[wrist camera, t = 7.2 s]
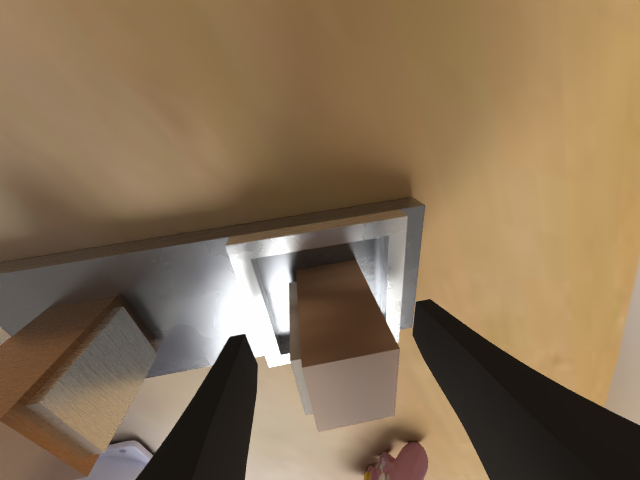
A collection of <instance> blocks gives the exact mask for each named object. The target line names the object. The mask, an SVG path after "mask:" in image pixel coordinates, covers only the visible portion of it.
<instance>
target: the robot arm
mask: <svg viewBox="0 0 640 480" xmlns="http://www.w3.org/2000/svg"><path fill="white" fill-rule="evenodd" d="M413 337H414V339H415V341H416V344H417V346H418V348H419V350H420V352H421V354H422V357H423V359H424V360H425V362H426V364H427V366H428V367H429V369H430V371H431V372H432V374H433V376H434V377H435V379H436V381H437V382H438V384H439V386H440V387H441V389H442V391H443V392H444V394H445V396H446V397H447V399H448V401H449V402H450V404H451V406H452V407H453V409H454V411H455V412H456V414H457V416H458V418H459V419H460V421H461V423H462V425H463V426H464V428H465V430H466V432H467V434H468V436H469V438H470V440H471V442H472V444H473V446H474V448H475V450H476V452H477V454H478V456H479V458H480V460H481V462H482V464H483V466H484V468H485V470H486V473H487V475H488V477H489V479H490V480H640V425H638V424H636V423H634V422H632V421H630V420H627V419H625V418H623V417H621V416H619V415H617V414H615V413H613V412H611V411H609V410H607V409H605V408H603V407H601V406H600V405H598V404H596V403H594V402H592V401H590V400H588V399H586V398H584V397H582V396H580V395H578V394H576V393H575V392H573V391H571V390H569V389H567V388H565V387H563V386H562V385H560V384H558V383H556V382H555V381H553V380H551V379H549V378H548V377H546V376H544V375H542V374H541V373H539V372H537V371H535V370H534V369H532V368H530V367H529V366H527V365H525V364H524V363H522V362H520V361H519V360H517V359H516V358H514V357H512V356H511V355H509V354H508V353H506V352H505V351H503V350H501V349H500V348H498V347H497V346H495V345H494V344H492V343H491V342H489V341H488V340H486V339H485V338H483V337H482V336H480V335H479V334H478V333H476V332H475V331H473V330H472V329H470V328H469V327H468V326H466V325H465V324H463V323H462V322H461V321H459V320H458V319H456V318H455V317H454V316H452V315H451V314H450V313H448V312H447V311H445V310H444V309H443V308H441V307H440V306H439V305H437V304H436V303H435V302H433V301H432V300H430V299H428V300H423V301H418V302H416V307H415V316H414V326H413ZM257 371H258V364H257V362H256V359H255V357H254V354H253V352H252V349H251V347H250V344H249V342H248V339H247V337H246V334H241V335H235V336H230V337H229V338H228V340H227V342H226V344H225V345H224V347H223V349H222V351H221V352H220V354H219V356H218V358H217V359H216V361H215V363H214V364H213V366H212V368H211V370H210V371H209V373H208V375H207V376H206V378H205V380H204V381H203V383H202V384H201V386H200V388H199V389H198V391H197V393H196V394H195V396H194V397H193V399H192V400H191V402H190V403H189V405H188V406H187V408H186V409H185V411H184V412H183V414H182V415H181V417H180V418H179V420H178V421H177V423H176V424H175V426H174V427H173V429H172V430H171V432H170V433H169V435H168V436H167V437H166V439H165V440H164V442H163V443H162V444H161V446H160V447H159V449H158V450H157V451H156V453H155V454H154V455H152V454H151V453H150V452H149V451H148V450H146V449H145V448H144V447H143V446H142V445H141V444H140V443H139V442H137V441H134V440H131V441H125V442H120V443H116V444H111V445H108V447H107V449H106V451H105V452H104V453H101V454H100V455H99V457H98V459H97V461H96V463H95V464H94V466H93V468H92V470H91V472H90V473H89V475H88V477H84V478H80V479H75V480H245V473H246V464H247V457H248V450H249V443H250V436H251V429H252V422H253V415H254V408H255V401H256V393H257Z"/></svg>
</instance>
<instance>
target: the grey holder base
mask: <svg viewBox="0 0 640 480" xmlns="http://www.w3.org/2000/svg"><path fill="white" fill-rule="evenodd" d="M424 211H425V205H424V204H422V203H421V202H419V201H417V200H416V199H414V198H413V197H411V198H405V199H399V200H392V201H386V202H380V203H374V204H367V205H361V206H355V207H348V208H342V209H336V210H330V211H323V212H317V213H311V214H304V215H298V216H292V217H285V218H279V219H273V220H267V221H260V222H254V223H248V224H241V225H235V226H229V227H223V228H216V229H210V230H204V231H197V232H191V233H185V234H178V235H172V236H166V237H160V238H153V239H147V240H141V241H134V242H128V243H122V244H115V245H109V246H103V247H97V248H90V249H84V250H78V251H71V252H65V253H59V254H53V255H46V256H40V257H34V258H27V259H21V260H15V261H8V262H2V263H0V326H1V327H2V328H3V329H4V330H5V331H6V332H7V333H8V334H9V335H11V336H12V337H11V338H10V339H8V340H7V341H6V342H5V343H3V344H2V345H1V346H0V480H75V479H80V478H84V477H88V475H89V473H90V472H91V470H92V468H93V466H94V464H95V463H96V461H97V459H98V457H99V455H100V454H101V453H104V452H105V451H106V449H107V447H108V445H109V443H110V441H111V440H112V438H113V436H114V434H115V432H116V430H117V428H118V427H119V425H120V423H121V421H122V419H123V417H124V416H125V414H126V412H127V410H128V408H129V406H130V405H131V403H132V401H133V399H134V397H135V395H136V394H137V392H138V390H139V388H140V386H141V384H142V382H143V381H144V379H145V378H150V377H155V376H161V375H166V374H171V373H176V372H181V371H187V370H192V369H197V368H202V367H207V366H213V364H214V363H215V361H216V359H217V358H218V356H219V354H220V352H221V351H222V349H223V347H224V345H225V344H226V342H227V340H228V338H229V337H230V336H235V335H241V334H246V337H247V339H248V342H249V344H250V347H251V349H252V352H253V354H254V357H260V356H265V357H266V359H267V362H268V365H269V367H273V366H278V365H283V364H288V363H290V329H289V283H291V282H297V281H296V270H300V269H305V268H311V267H317V266H323V265H329V264H335V263H341V262H346V261H352V260H357V263H358V265H359V267H360V269H361V271H362V273H363V275H364V277H365V279H366V281H367V283H368V285H369V287H370V289H371V291H372V293H373V295H374V297H375V299H376V301H377V303H378V305H379V307H380V309H381V312H382V314H383V316H384V318H385V320H386V322H387V324H388V326H389V328H390V330H391V332H392V334H393V336H394V338H395V340H396V342H399V333H400V330H401V329H406V328H411V327H412V324H413V314H414V305H415V295H416V286H417V277H418V267H419V258H420V248H421V239H422V229H423V220H424Z"/></svg>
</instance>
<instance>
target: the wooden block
mask: <svg viewBox="0 0 640 480" xmlns="http://www.w3.org/2000/svg"><path fill="white" fill-rule="evenodd" d="M296 281H297V282H291V283H289V329H290V363H291V367H292V370H293V374H294V377H295V381H296V384H297V388H298V391H299V395H300V398H301V402H302V405H303V409H304V412H305V415H309V414H314V418H315V422H316V426H317V430H318V432H321V431H325V430H330V429H335V428H339V427H344V426H349V425H354V424H358V423H363V422H368V421H372V420H377V419H382V418H386V417H391V416H395V404H396V391H397V378H398V365H399V352H400V348H399V346H398V344H397V342H396V340H395V338H394V336H393V334H392V332H391V330H390V328H389V326H388V324H387V322H386V320H385V318H384V316H383V314H382V312H381V309H380V307H379V305H378V303H377V301H376V299H375V297H374V295H373V293H372V291H371V289H370V287H369V285H368V283H367V281H366V279H365V277H364V275H363V273H362V271H361V269H360V267H359V265H358V263H357V260H352V261H346V262H341V263H335V264H329V265H323V266H317V267H311V268H305V269H300V270H296Z"/></svg>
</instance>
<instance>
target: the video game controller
mask: <svg viewBox="0 0 640 480" xmlns="http://www.w3.org/2000/svg"><path fill="white" fill-rule="evenodd" d="M427 468H428V458H427V454H426V452H425V450H424V448H423V447H422V446H421V445H420V443H418V442H410V443H408V444H406V445H405V446H404V447H403V448H402V450H401V451H400V453H399V454H398V456H397V458H396V459H395V458H394V457H392V456H391V455H390V454H388V453H386V452H383V453H382V454H381V456H380V458H379V461H378V467H377V469H376V468H375V467H373V466H372V465H370V466H369V467H368V468H367V471H366V473H365V475H364V480H424V477H425V475H426V472H427Z"/></svg>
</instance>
